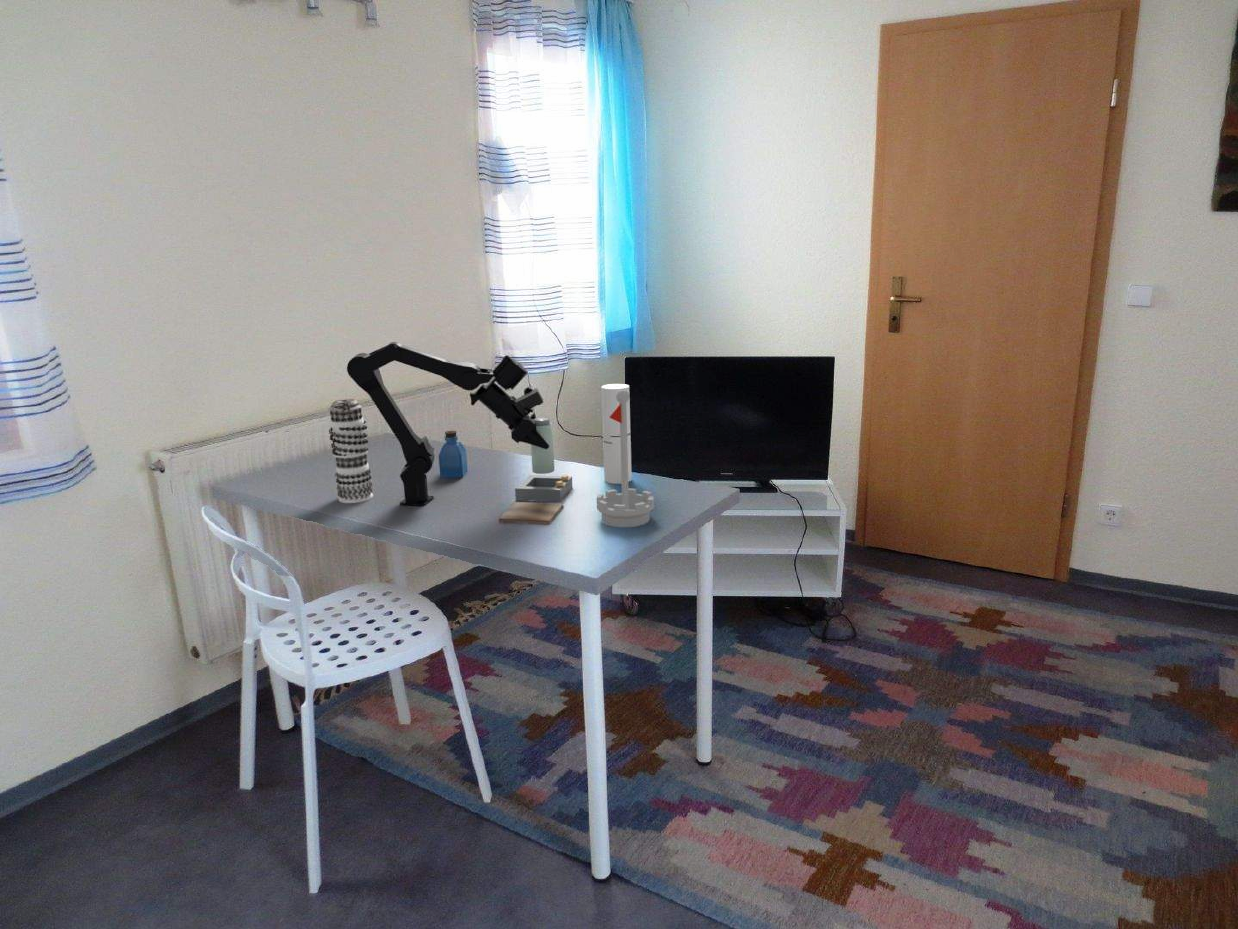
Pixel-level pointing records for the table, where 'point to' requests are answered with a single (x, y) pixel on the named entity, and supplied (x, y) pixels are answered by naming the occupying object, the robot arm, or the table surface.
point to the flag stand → (624, 484)
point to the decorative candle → (350, 451)
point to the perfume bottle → (452, 457)
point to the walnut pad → (531, 512)
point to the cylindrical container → (614, 434)
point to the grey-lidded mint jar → (541, 456)
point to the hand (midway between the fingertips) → (547, 444)
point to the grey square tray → (544, 488)
